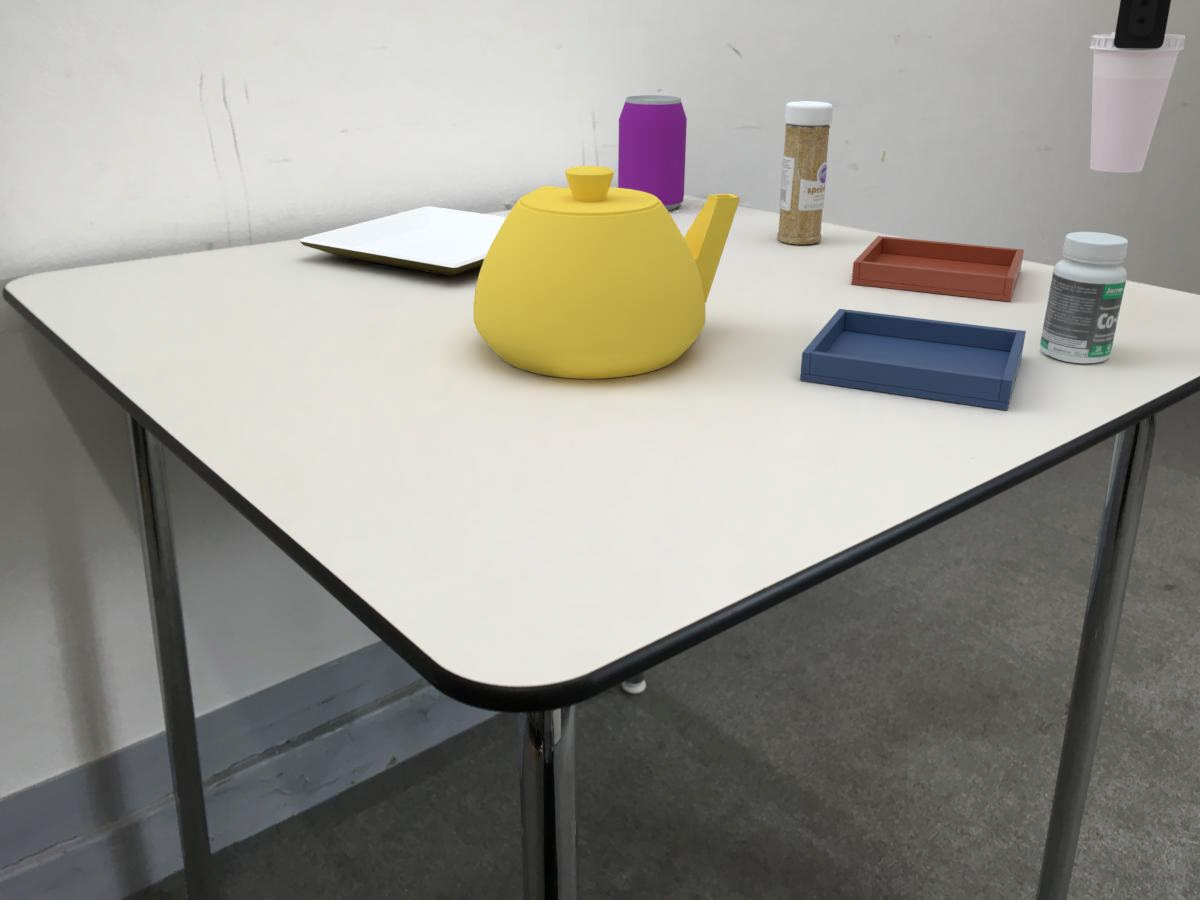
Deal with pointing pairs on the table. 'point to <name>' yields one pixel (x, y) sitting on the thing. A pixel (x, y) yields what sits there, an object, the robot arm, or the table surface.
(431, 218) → the plate
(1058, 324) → the pill bottle
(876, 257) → the terracotta tray
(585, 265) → the teapot
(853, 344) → the blue tray
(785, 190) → the sprinkles bottle
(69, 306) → the table surface
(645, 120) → the beverage can
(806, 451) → the table surface
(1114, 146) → the smoothie
